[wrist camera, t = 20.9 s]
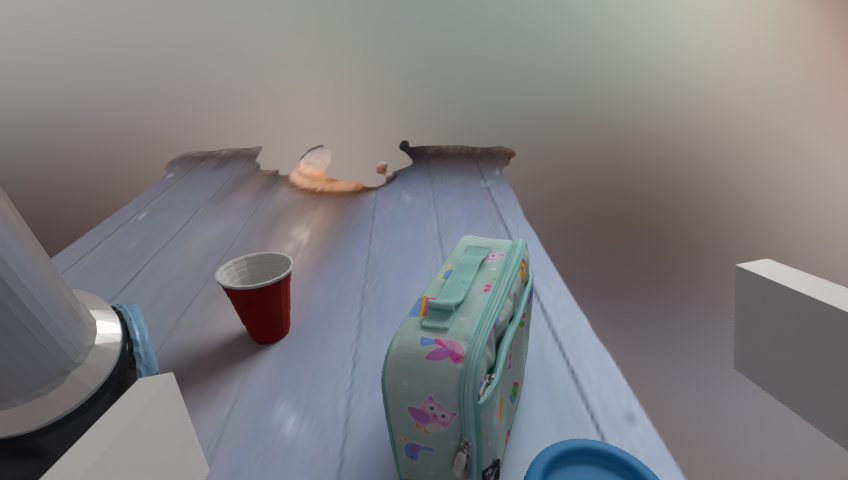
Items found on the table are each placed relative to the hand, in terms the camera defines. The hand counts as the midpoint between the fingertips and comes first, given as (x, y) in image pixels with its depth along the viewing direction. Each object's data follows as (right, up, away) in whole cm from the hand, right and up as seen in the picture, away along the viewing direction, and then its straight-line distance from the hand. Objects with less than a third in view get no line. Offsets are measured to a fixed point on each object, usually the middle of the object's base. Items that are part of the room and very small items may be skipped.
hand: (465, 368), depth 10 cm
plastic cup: (-25, -11, +59) cm, 65 cm away
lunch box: (+5, -19, +43) cm, 47 cm away
